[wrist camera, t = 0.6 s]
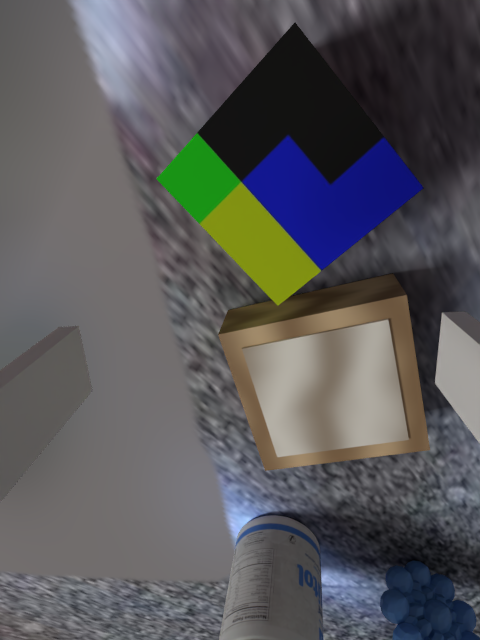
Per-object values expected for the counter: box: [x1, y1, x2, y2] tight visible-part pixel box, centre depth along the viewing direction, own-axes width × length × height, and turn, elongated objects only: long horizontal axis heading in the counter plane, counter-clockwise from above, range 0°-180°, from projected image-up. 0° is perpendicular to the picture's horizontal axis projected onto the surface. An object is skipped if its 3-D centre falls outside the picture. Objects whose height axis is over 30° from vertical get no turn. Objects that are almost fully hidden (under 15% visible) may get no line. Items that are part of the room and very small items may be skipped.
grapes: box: [380, 561, 480, 640], centre depth 41 cm, size 12×7×12 cm, turn 63°
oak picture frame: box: [218, 273, 430, 471], centre depth 35 cm, size 14×14×5 cm
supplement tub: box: [219, 515, 323, 640], centre depth 41 cm, size 10×10×15 cm
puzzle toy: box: [157, 23, 424, 305], centre depth 27 cm, size 10×10×10 cm
